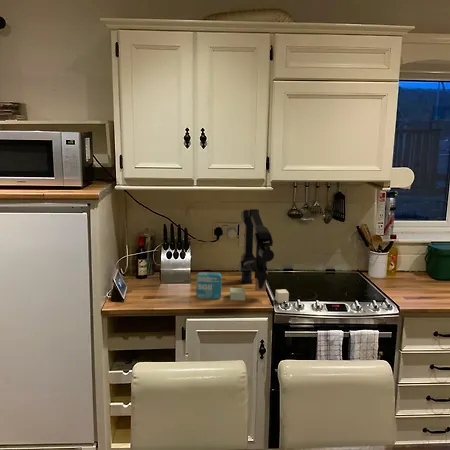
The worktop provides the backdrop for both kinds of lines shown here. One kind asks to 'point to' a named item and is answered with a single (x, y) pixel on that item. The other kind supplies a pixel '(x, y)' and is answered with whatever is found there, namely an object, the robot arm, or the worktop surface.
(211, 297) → the data package
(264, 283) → the walnut cube
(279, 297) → the offwhite cube
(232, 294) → the sage base block
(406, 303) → the worktop surface
